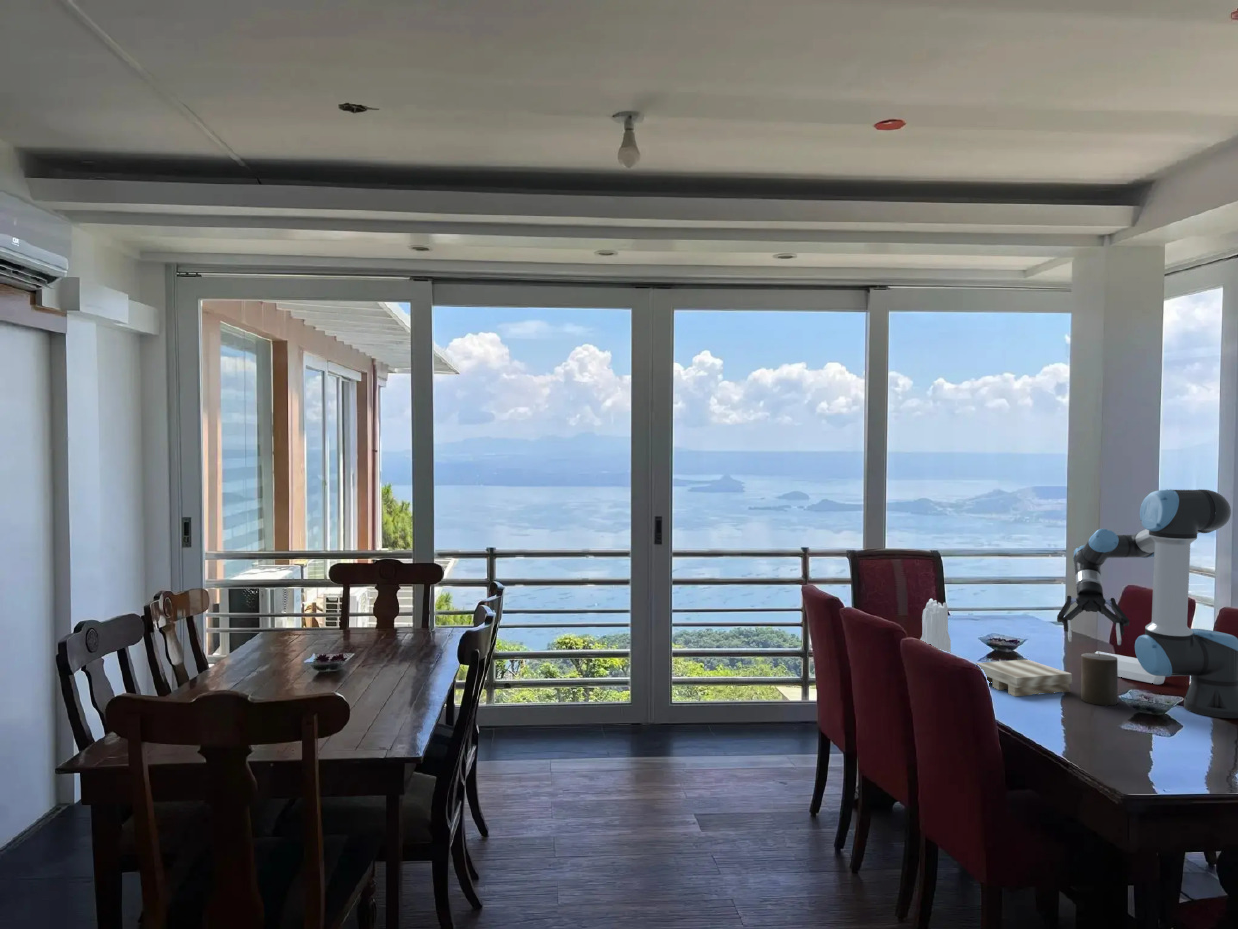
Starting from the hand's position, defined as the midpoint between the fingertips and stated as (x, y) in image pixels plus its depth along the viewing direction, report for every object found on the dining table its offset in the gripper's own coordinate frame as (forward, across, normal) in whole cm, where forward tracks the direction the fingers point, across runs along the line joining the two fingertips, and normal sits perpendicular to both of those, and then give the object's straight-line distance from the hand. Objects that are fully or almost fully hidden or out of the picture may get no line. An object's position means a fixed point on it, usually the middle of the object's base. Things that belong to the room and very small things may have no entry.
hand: (1094, 641), depth 263 cm
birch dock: (+12, +21, -11) cm, 26 cm away
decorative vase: (+5, +48, -19) cm, 51 cm away
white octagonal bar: (-6, -12, -30) cm, 33 cm away
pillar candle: (+19, 0, -4) cm, 19 cm away
